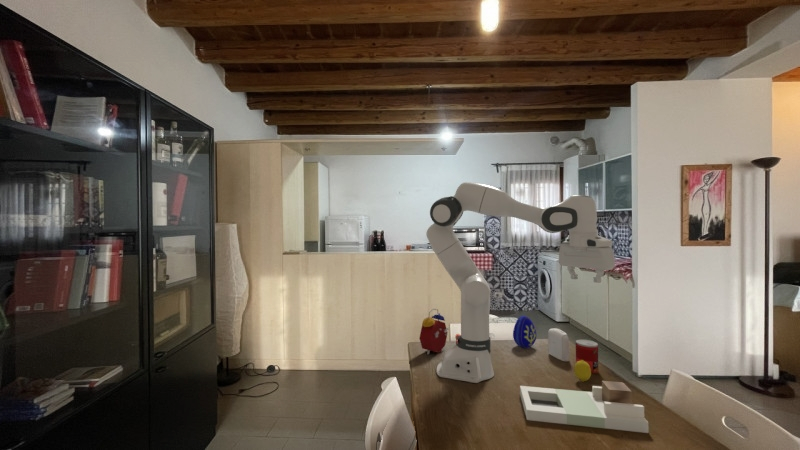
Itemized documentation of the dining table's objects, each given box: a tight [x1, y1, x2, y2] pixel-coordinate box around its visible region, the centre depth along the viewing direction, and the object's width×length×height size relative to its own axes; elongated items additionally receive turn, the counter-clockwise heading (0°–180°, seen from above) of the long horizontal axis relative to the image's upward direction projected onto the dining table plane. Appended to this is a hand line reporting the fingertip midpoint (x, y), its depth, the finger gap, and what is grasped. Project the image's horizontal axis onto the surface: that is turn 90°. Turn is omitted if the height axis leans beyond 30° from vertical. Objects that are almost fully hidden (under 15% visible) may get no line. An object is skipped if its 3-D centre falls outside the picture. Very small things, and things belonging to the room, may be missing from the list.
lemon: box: [573, 360, 592, 383], centre depth 126 cm, size 6×6×8 cm
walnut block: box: [601, 380, 633, 404], centre depth 103 cm, size 6×6×6 cm
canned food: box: [575, 339, 599, 375], centre depth 137 cm, size 8×8×11 cm
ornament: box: [512, 315, 537, 349], centre depth 164 cm, size 11×9×15 cm
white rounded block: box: [547, 327, 570, 362], centre depth 150 cm, size 10×4×12 cm, turn 13°
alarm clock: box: [419, 308, 450, 355], centre depth 158 cm, size 15×9×20 cm, turn 141°
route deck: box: [519, 385, 650, 434], centre depth 105 cm, size 32×16×6 cm, turn 77°
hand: (585, 280), depth 118 cm, fingers open, 8 cm apart
